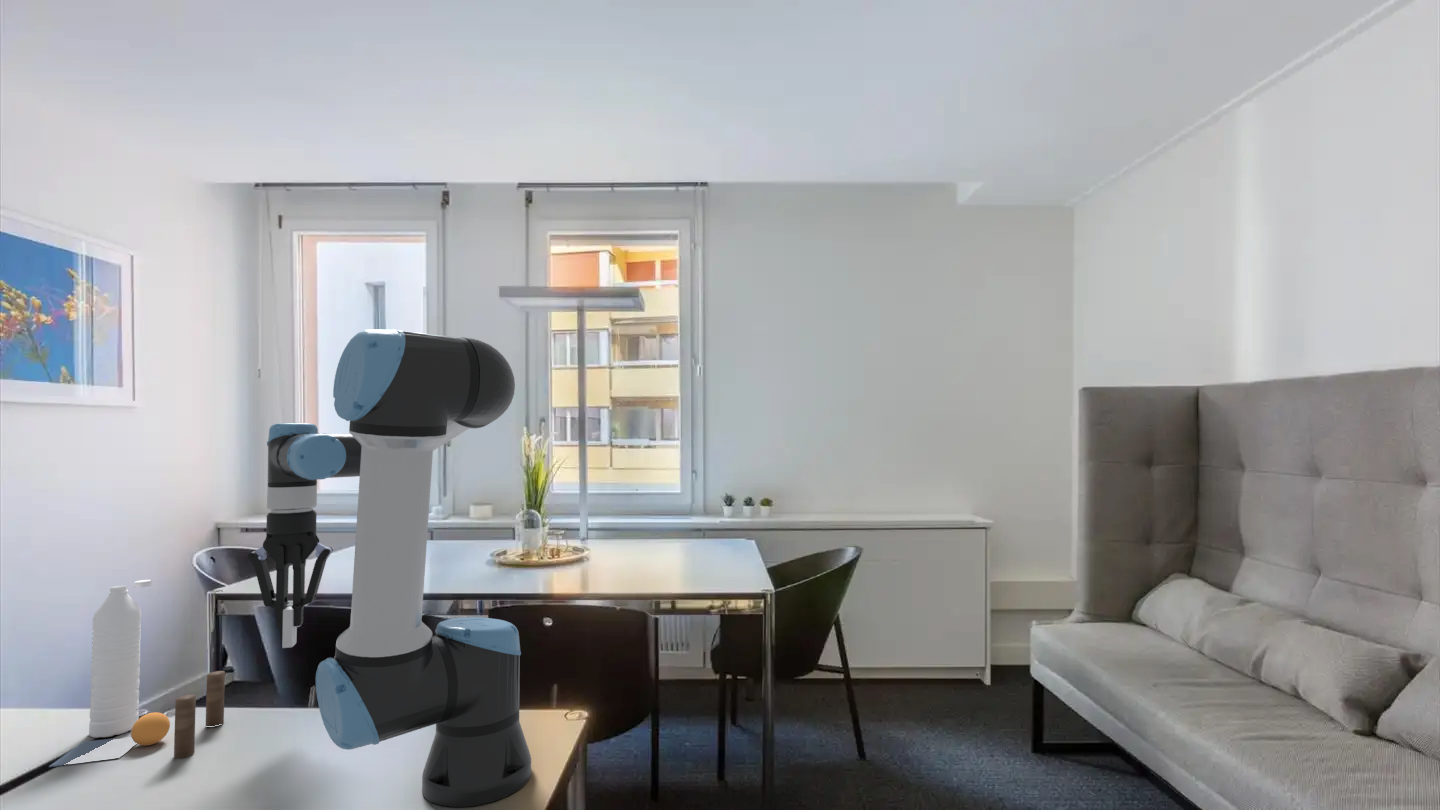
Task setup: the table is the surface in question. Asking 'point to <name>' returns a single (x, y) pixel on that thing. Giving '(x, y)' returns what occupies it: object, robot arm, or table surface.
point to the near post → (184, 726)
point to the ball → (150, 728)
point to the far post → (215, 698)
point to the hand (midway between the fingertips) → (289, 645)
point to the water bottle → (115, 663)
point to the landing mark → (79, 751)
